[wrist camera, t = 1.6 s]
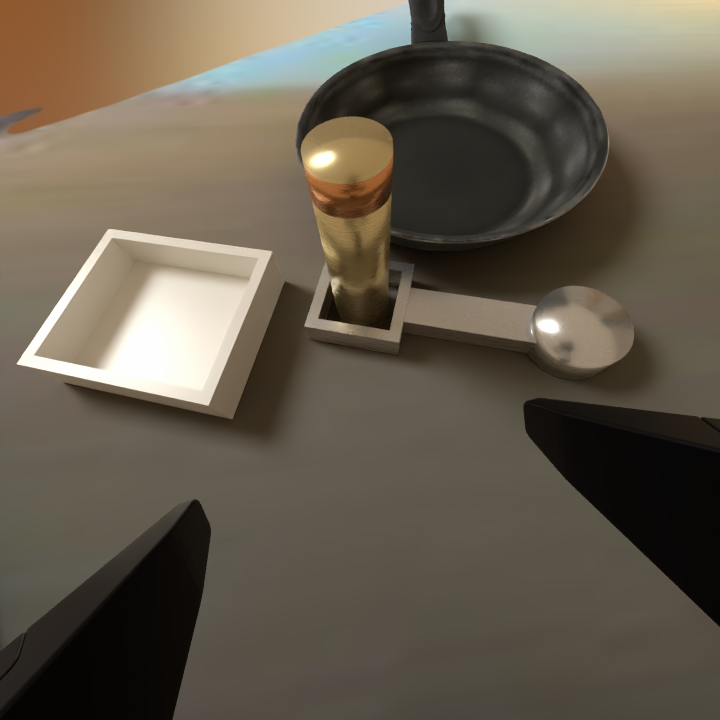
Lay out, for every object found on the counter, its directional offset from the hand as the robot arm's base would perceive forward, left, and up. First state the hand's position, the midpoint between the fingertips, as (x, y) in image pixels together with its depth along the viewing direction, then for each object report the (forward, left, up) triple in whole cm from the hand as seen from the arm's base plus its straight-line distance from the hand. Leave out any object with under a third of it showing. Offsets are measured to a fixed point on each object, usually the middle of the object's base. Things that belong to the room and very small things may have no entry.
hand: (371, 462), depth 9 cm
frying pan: (+2, -35, -13) cm, 38 cm away
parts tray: (+18, -8, -13) cm, 24 cm away
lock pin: (+4, -13, -13) cm, 19 cm away
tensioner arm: (-3, -13, -13) cm, 19 cm away
